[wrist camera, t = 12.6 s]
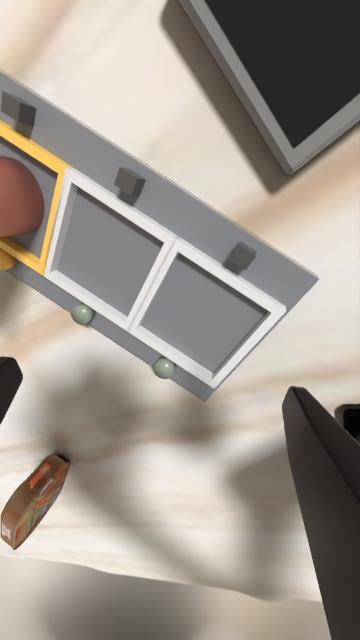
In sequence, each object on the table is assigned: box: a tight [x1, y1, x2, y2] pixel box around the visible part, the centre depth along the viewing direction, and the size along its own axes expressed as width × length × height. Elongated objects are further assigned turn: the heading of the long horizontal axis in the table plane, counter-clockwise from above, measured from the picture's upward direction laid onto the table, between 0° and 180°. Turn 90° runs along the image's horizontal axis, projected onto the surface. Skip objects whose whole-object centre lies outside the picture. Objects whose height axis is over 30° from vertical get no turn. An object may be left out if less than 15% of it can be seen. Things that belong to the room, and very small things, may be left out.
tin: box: [1, 454, 70, 550], centre depth 34 cm, size 15×3×8 cm, turn 156°
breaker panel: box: [0, 70, 319, 401], centre depth 18 cm, size 25×13×2 cm, turn 61°
